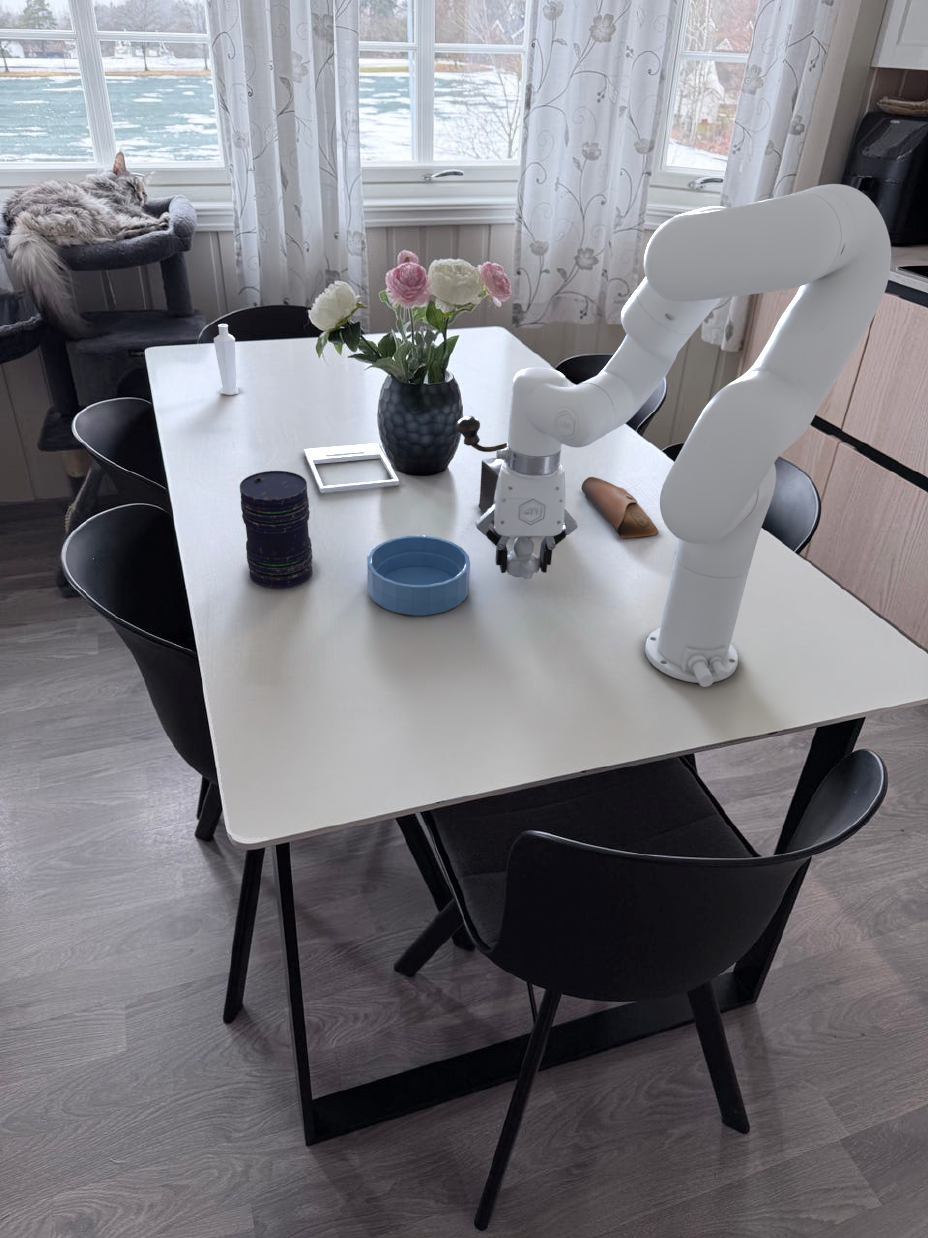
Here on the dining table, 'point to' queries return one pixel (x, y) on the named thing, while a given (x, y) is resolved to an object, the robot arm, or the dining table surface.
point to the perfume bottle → (226, 360)
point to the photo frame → (348, 455)
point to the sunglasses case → (619, 509)
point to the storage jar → (277, 529)
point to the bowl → (418, 575)
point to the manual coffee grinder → (489, 466)
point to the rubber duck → (523, 558)
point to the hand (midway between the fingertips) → (522, 567)
